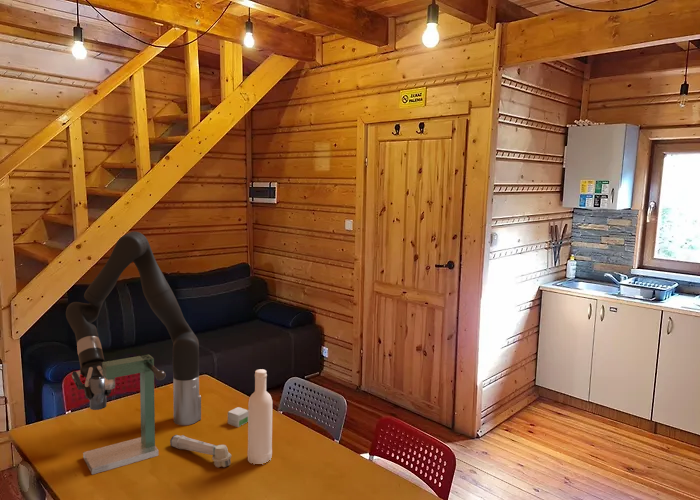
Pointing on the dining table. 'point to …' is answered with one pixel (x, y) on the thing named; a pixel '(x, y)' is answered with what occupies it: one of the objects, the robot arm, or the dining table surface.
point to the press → (145, 444)
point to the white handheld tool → (203, 449)
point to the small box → (238, 417)
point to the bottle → (260, 421)
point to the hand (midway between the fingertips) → (99, 396)
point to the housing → (97, 392)
